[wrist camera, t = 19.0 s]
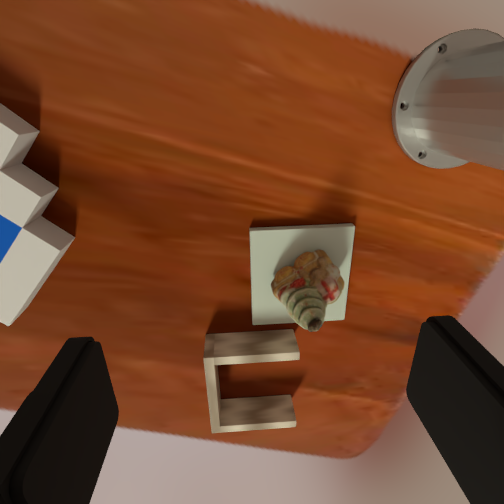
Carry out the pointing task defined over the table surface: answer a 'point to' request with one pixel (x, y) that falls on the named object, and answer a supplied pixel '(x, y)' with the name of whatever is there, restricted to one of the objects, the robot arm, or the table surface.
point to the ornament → (308, 288)
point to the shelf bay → (252, 408)
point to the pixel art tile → (24, 221)
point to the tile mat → (284, 254)
